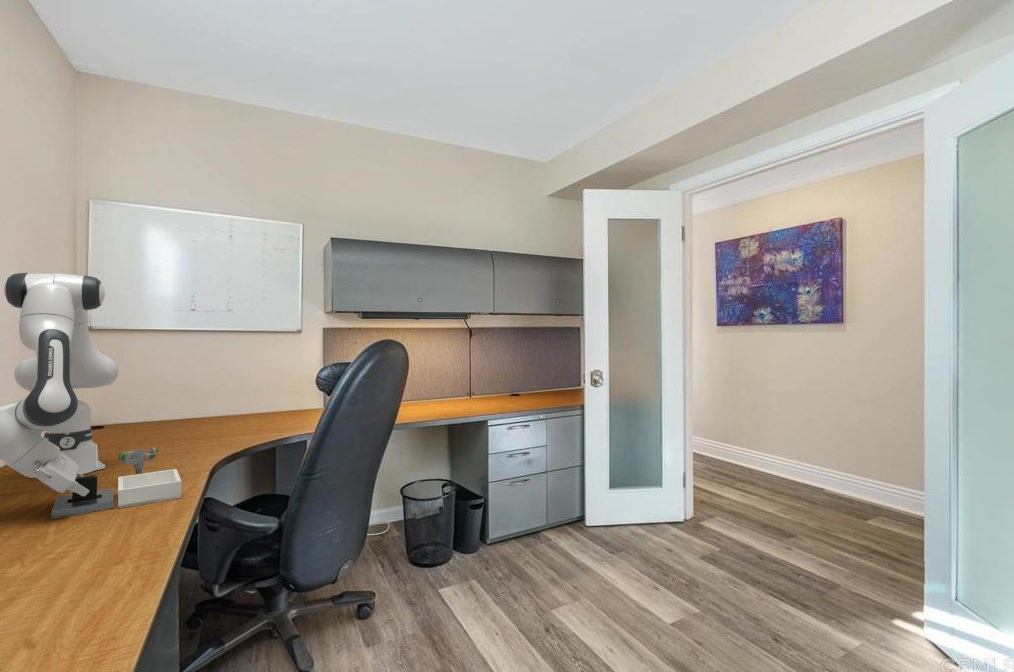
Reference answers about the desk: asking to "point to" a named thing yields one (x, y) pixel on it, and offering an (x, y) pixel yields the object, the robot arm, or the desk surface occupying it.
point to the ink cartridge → (89, 483)
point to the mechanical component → (138, 458)
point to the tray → (148, 488)
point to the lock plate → (82, 504)
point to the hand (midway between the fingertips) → (88, 489)
